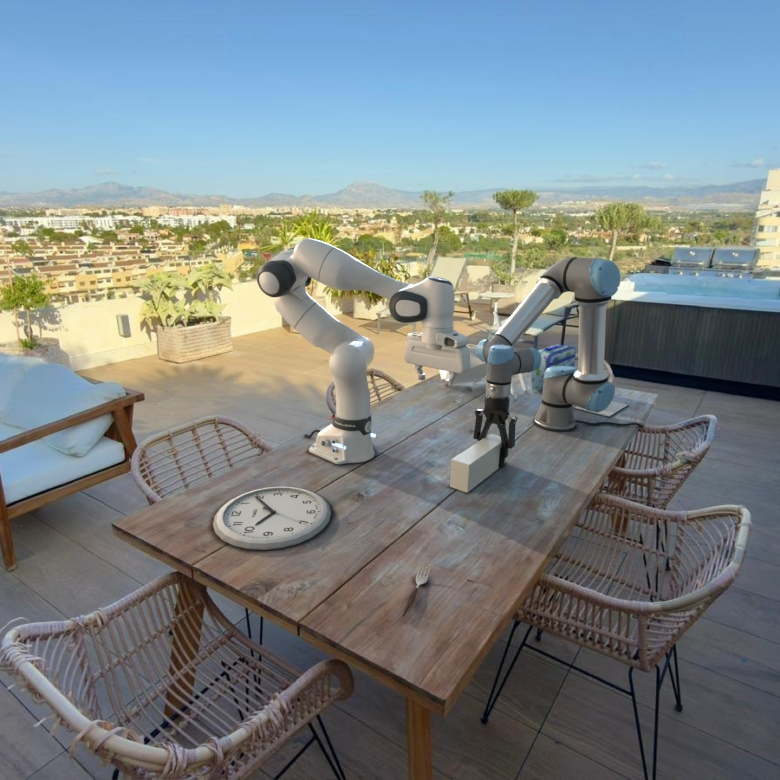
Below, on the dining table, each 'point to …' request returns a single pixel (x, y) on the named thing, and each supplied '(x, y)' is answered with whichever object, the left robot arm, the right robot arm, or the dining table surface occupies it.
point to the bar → (475, 463)
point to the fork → (419, 580)
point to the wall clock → (272, 518)
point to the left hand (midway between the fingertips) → (435, 382)
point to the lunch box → (552, 362)
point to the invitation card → (608, 408)
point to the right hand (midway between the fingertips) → (492, 463)
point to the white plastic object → (480, 369)
